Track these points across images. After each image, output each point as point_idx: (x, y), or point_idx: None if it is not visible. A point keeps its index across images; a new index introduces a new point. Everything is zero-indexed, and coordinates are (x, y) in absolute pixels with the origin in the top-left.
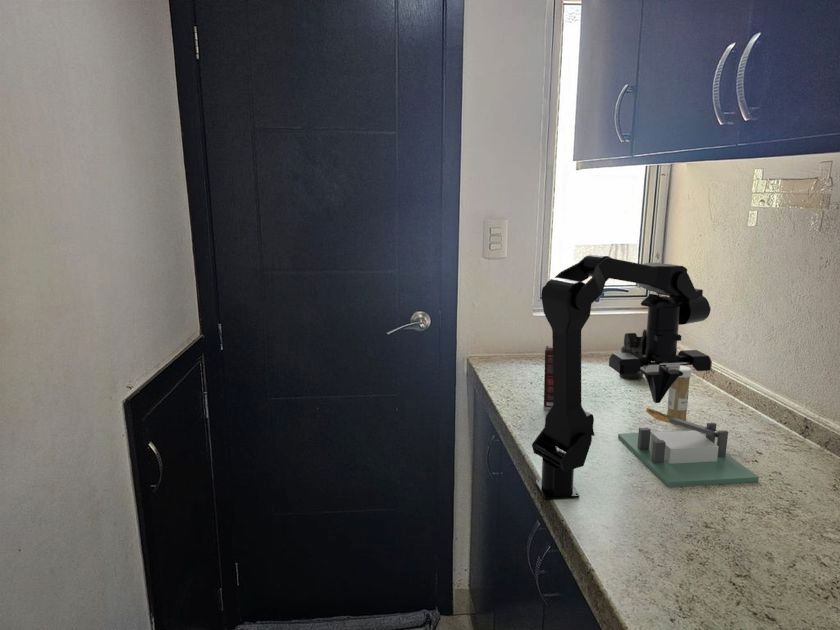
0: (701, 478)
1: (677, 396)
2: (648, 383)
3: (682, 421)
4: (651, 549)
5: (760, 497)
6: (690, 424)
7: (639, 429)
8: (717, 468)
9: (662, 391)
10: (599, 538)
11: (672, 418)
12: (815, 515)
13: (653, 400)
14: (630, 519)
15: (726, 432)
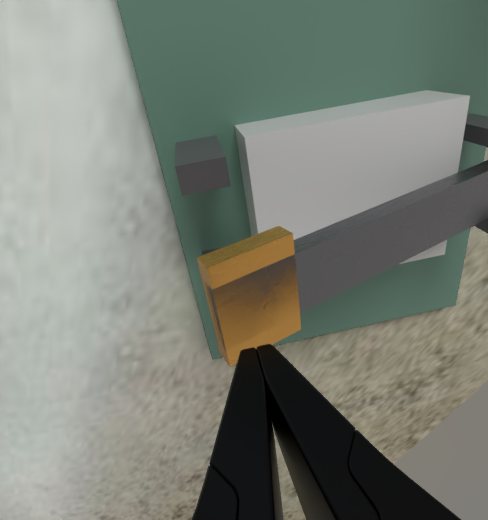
0: (308, 331)
1: None
2: (203, 501)
3: (381, 253)
4: (122, 513)
5: (400, 356)
6: (409, 249)
7: (176, 172)
8: (383, 274)
9: (300, 497)
10: (32, 512)
11: (331, 282)
12: (450, 393)
13: (240, 357)
14: (96, 462)
15: None
